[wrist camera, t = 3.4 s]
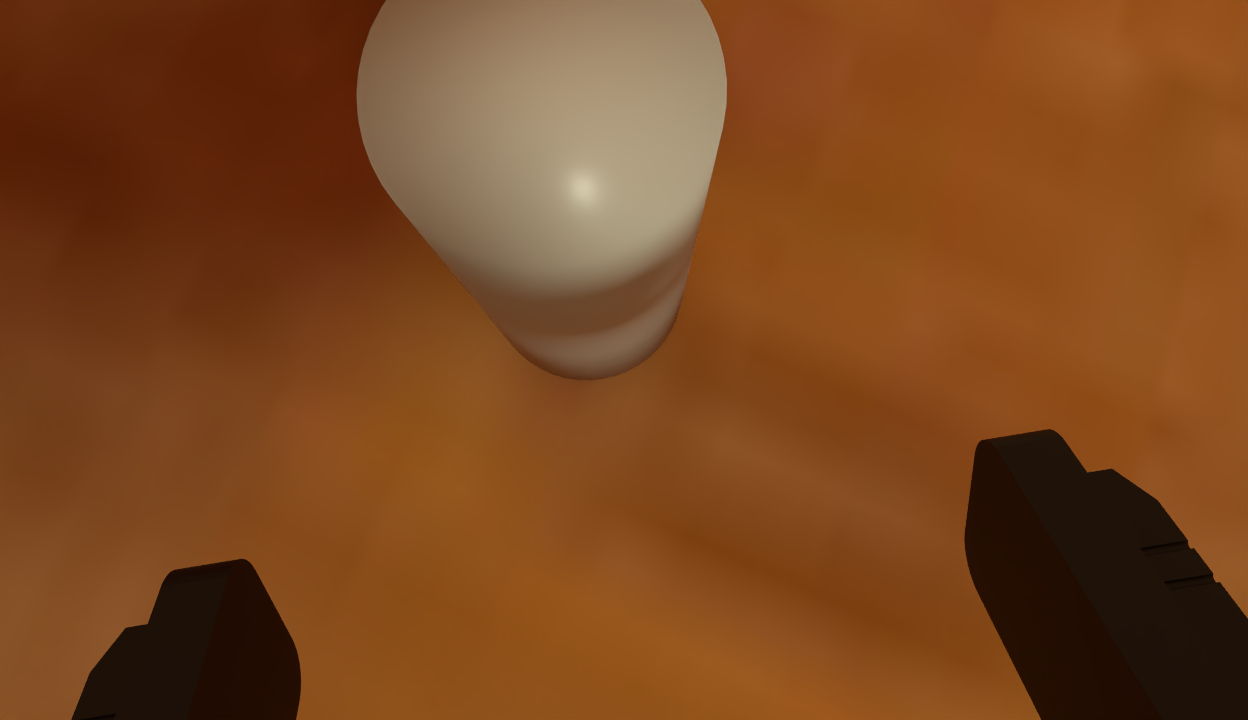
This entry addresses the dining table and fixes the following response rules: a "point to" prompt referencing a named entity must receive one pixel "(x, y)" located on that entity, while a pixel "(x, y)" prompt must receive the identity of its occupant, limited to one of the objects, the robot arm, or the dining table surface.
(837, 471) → the dining table surface
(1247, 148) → the dining table surface
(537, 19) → the cream candle
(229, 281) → the dining table surface
